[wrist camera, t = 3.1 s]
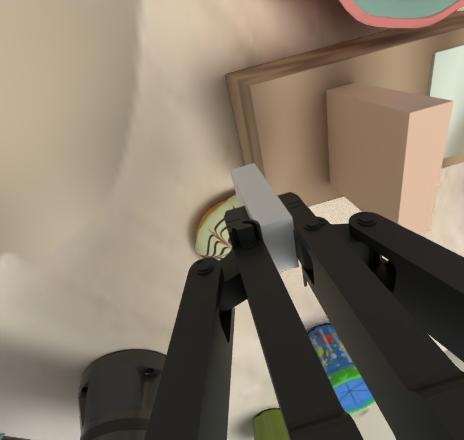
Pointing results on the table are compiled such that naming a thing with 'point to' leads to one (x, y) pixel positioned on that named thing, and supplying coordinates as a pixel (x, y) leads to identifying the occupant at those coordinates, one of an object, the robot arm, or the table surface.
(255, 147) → the block
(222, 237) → the decorated donut
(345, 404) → the snack cup
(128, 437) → the robot arm
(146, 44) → the table surface
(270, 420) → the plant pot
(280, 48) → the table surface
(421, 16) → the cell model
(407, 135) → the tile
